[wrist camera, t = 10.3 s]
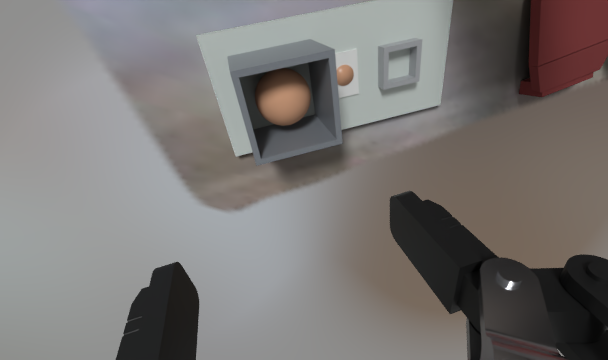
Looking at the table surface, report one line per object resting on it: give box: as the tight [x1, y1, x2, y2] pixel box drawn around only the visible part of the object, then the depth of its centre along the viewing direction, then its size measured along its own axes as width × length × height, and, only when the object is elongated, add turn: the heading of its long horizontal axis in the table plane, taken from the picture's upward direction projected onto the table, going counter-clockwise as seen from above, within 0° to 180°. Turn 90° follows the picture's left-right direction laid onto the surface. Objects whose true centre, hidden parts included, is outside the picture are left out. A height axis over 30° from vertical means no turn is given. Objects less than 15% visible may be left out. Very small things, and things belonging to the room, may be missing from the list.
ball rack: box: [196, 0, 453, 166], centre depth 31 cm, size 29×14×9 cm, turn 99°
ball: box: [255, 68, 311, 126], centre depth 31 cm, size 6×6×6 cm
